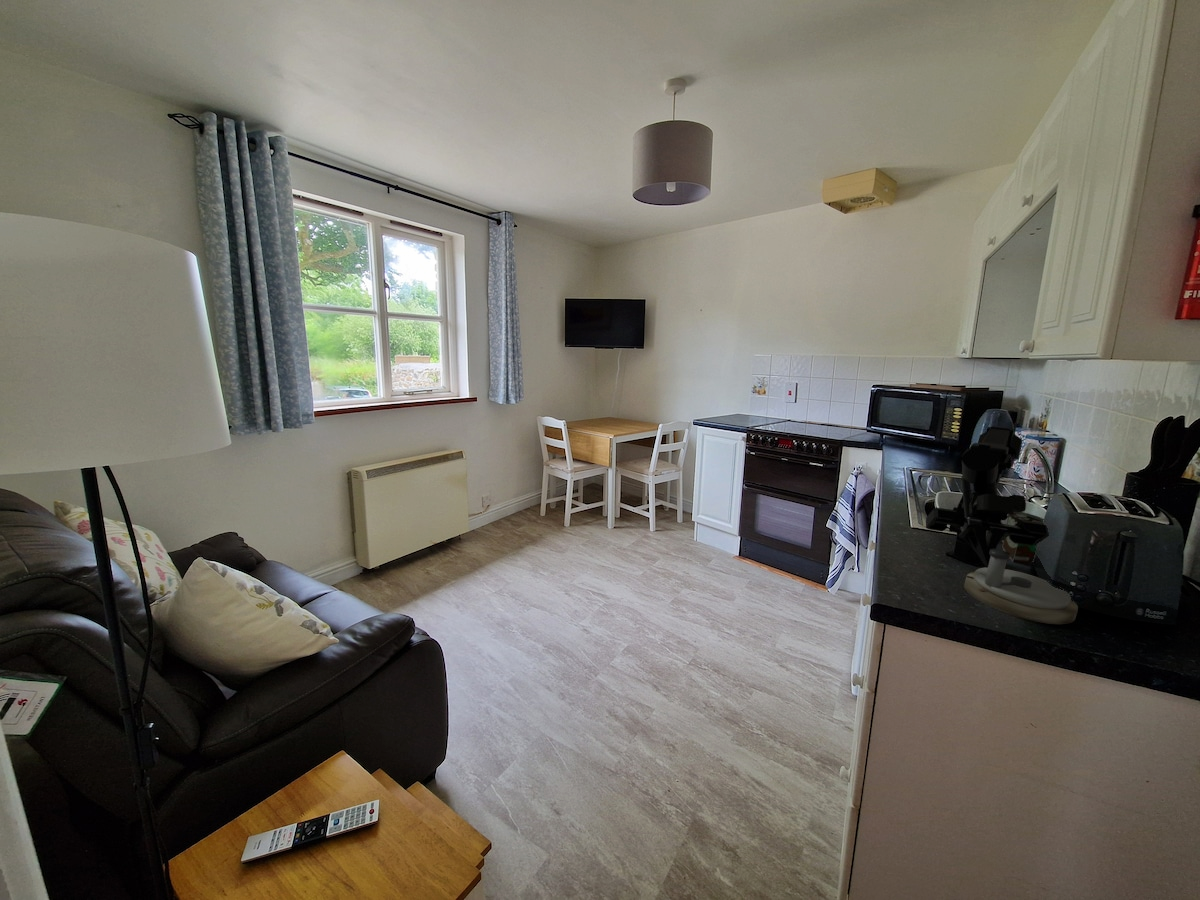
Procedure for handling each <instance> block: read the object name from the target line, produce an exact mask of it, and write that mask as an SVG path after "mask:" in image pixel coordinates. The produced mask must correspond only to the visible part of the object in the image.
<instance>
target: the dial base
mask: <svg viewBox="0 0 1200 900" xmlns="http://www.w3.org/2000/svg"><path fill="white" fill-rule="evenodd" d="M974 575H975V571H973V572H969V573H967V575H966V578H965V582H964V585H963V586H964V589H965V592H967V594H969V595H970V596H971V597H972V598H974V599H975V600H976V601H978V602H980V603H981V604H983V605H986V606H987V607H990V608H991V609H994V610H996V611H999V612H1000V613H1004V614H1006V615H1007V614H1008V615H1010V616H1012V617H1016V618H1019V619H1022V620H1027V621H1031V622H1036V623H1040V624H1041V623H1042V624H1050V625H1066V624H1071V623H1073V622H1075V621H1076V617H1077V614H1078V610H1079V607H1078V604H1077V603H1076V602H1075V601H1074V600H1073V599H1072V600H1073V601H1072V600H1070V604H1069V606H1068V607H1066V608H1063V609H1045V608H1038V607H1033V606H1028V605H1024V604H1020V603H1017V602H1014V601H1011V600H1008V599H1005V598H1002V597H1000V596H997V595H995V594H993V593H991V592H989V591H987V590H985V589H984V588H982V587H981V586H979V585H978V584H977V583H976V582H975V580H974Z"/></svg>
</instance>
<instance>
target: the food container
mask: <svg viewBox="0 0 1200 900" xmlns="http://www.w3.org/2000/svg"><path fill="white" fill-rule="evenodd" d="M1007 517H1008V518H1007V519H1006V524H1008V525H1015V524H1017V523H1018V522H1019V521H1020V520H1025V521H1032V522H1039V523H1043V520H1044V518H1043V517H1040V516H1038V515H1034V514H1032V513H1027V512H1025V511H1023V512H1014V514H1007ZM1001 546H1002V547H1001V549H1002V548H1003V549H1002V550H1003V551H1006V552H1008V553H1010V558H1009V559H1010V560H1011V561H1013V562H1012V563H1016V562H1018V563H1017V564H1025V563H1028V564H1032V563H1031V562H1032V561H1033V559H1034V555H1035V551H1036V547H1037V545H1034V546H1028V545H1022V544H1016V543H1014V542H1012V541H1011V540H1010V539H1009V536H1008V537H1007V538H1006V539H1004V540H1003V541H1002V545H1001Z"/></svg>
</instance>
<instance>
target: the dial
mask: <svg viewBox="0 0 1200 900" xmlns="http://www.w3.org/2000/svg"><path fill="white" fill-rule="evenodd" d="M989 554H990V555H991V557H990V561H989V565H988V566H986V567H980V568H977V569H976V570H975V571H974V572H975V575H974V580H975V582H976V583H977V584H978V585H979V586H981V587H982V588H984V589H985V590H987V591H989V592H991V593H993V594H995V595H997V596H1000V597H1002V598H1005V599H1008V600H1011V601H1014V602H1017V603H1020V604H1024V605H1028V606H1033V607H1038V608H1045V609H1063V608H1066V607H1068V606H1069V604H1070V600H1071V599H1072V597H1071V594H1069V592H1067V591H1066V590H1065V589H1063V590H1061V589H1058V588H1055V587H1053V586H1051V585H1050V584H1049V583H1048V582H1049V581H1048V580H1045V579H1043V578H1040V577H1038V576H1035V575H1032V574H1028V573H1026V572H1022V571H1017V570H1012V569H1006V566H1007V561H1008V560H1009V559H1010V553H1008V552H1006V551H1004V550H1003V549H998V548H996V549H990V552H989ZM1047 581H1048V582H1047ZM1064 590H1065V591H1064Z"/></svg>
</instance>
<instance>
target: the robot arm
mask: <svg viewBox="0 0 1200 900" xmlns="http://www.w3.org/2000/svg"><path fill="white" fill-rule="evenodd" d="M1022 445H1023V440H1022V438H1020V437H1019V436H1018V435H1017V434H1015V429H1013V428H1011V427H1004V426H1003V427H1002V426H987V429H986V431H984V433H981V434H979V438H978V440H977V442H974V443H972V444H971V445H970V448H966V449H965V450H964V452H963V454H962V455H961V456H960V464H961V467H962V469H961V471H962V472H961V488H962V495H961V498H960V500H959V502H958V504H957V505H956V506H957V507H956V506H954V507H953V508H952V509H950V508H942V507H934V508H932V510H931V511H930V512H929V514H928V515H927V516H926V518H925V528H926V529H927V530H929V531H930V530H931V531H936V532H937V531H938V532H944V531H945V530H947V529H948V526H949V530H948V531H949V532H951V533H956V536H955V541H954V546H953V548H952V549H953V550H950V551H946V552H945V555H946V556H948V557H951V558H953V559H956V560H959V561H961V562H964V563H967V564H969V565H973V566H978V565H979V566H980V565H983V564H984V566H985V567H988V565H989V561H990V557H991V555H990V554H989V552H990V549H997V546H998V545H999V544H1001V543H1003V540H1004V539H1006V538H1007V537H1008V536H1009V539H1010V540H1011V541H1012V542H1014V543H1016V544H1022V545H1028V546H1034V545H1037V544H1038V543H1039V542H1041V541H1042V542H1043V540H1045V539H1046V538H1048V537H1049V536H1050V532H1048V528H1047V526H1046V525H1044V524H1043V523H1039V522H1032V521H1025V520H1020V521H1019V522H1018V523H1017V524H1015V525H1008V524H1007V523H1003V522H1002V521H1007V520H1008V517H1007V516H1008V514H1014V512H1025V511H1026V509H1027V502H1026V497H1025V495H1020V494H1019V495H1018V494H1011V495H1009V496H1006V495H1005V496H1004V495H998V487H999V483H1000V481H1001V477H1002V475H1003V472H1004V471H1005V472H1006V471H1008V470H1009V469H1012V467H1013V466H1014V464H1015V460H1017V461H1018V460H1019V459H1020V455H1021V451H1022Z"/></svg>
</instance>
